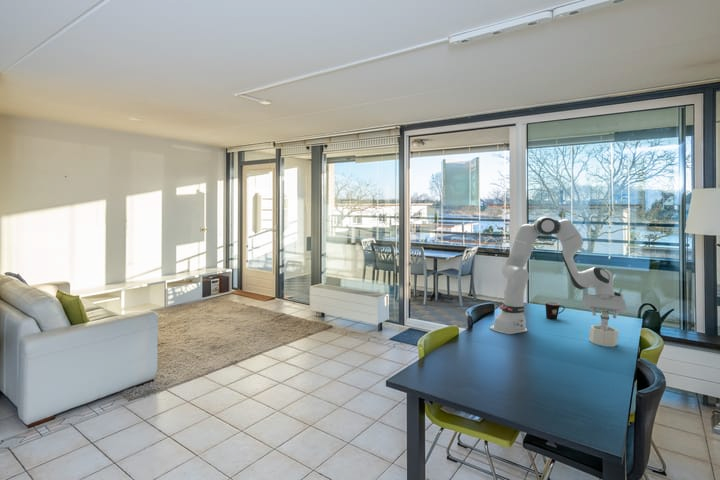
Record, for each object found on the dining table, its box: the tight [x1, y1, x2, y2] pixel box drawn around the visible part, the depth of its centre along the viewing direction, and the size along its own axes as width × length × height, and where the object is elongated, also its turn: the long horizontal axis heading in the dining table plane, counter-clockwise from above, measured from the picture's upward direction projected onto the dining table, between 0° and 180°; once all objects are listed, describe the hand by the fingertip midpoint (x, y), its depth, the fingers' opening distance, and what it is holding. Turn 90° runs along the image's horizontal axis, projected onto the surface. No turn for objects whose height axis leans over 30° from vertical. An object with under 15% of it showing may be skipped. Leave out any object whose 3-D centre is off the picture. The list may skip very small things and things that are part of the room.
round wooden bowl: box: [589, 324, 619, 347], centre depth 215 cm, size 12×12×8 cm
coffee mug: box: [544, 301, 566, 321], centre depth 261 cm, size 12×9×10 cm
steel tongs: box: [600, 310, 610, 331], centre depth 215 cm, size 6×6×16 cm
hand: (604, 316), depth 216 cm, fingers open, 8 cm apart
